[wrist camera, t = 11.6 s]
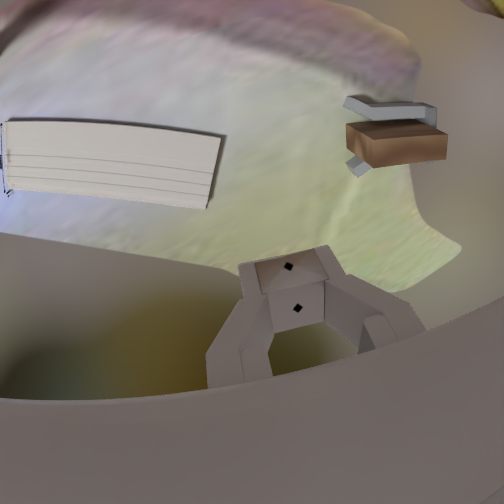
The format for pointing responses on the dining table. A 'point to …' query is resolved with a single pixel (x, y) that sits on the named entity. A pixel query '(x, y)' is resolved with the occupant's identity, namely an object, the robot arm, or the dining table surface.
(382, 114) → the grey channel
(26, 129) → the baseboard molding
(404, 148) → the walnut plank
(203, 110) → the dining table surface
